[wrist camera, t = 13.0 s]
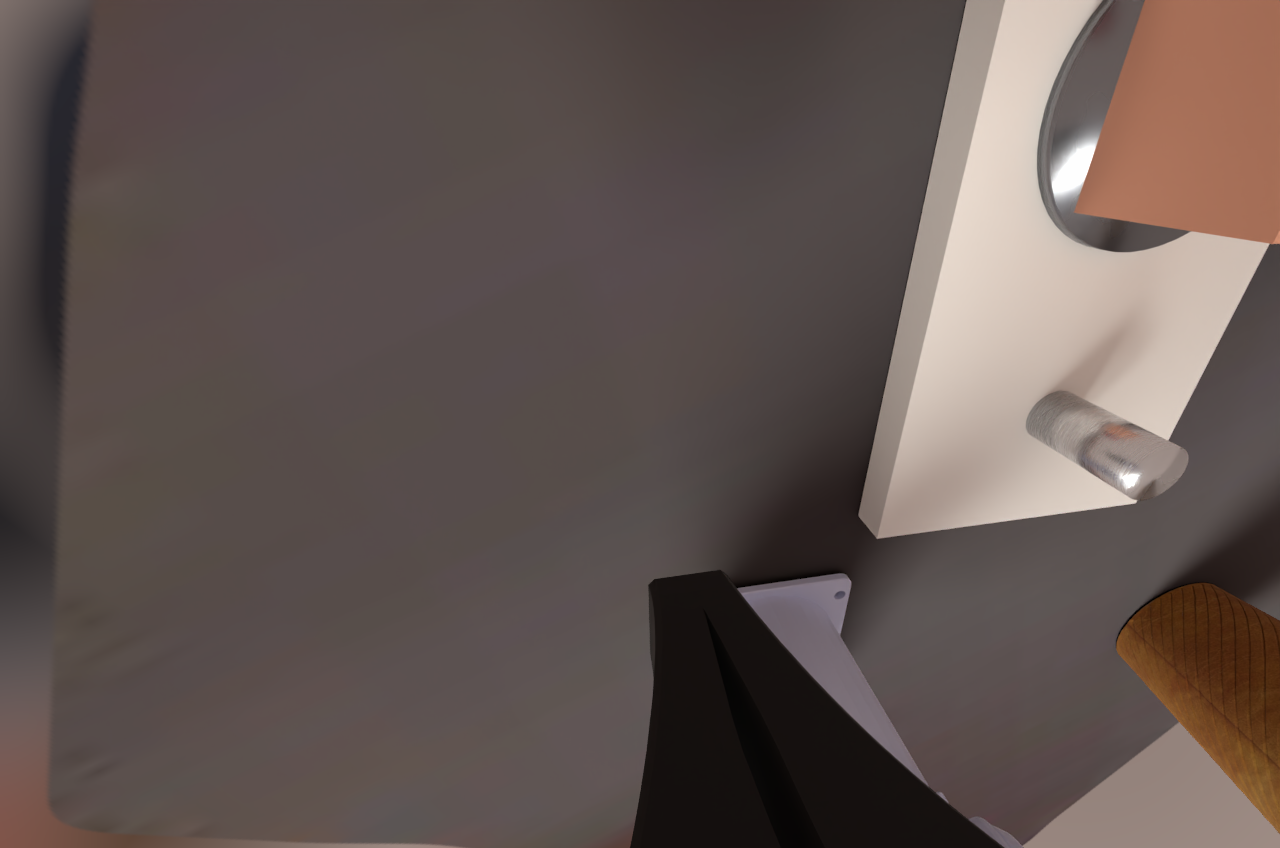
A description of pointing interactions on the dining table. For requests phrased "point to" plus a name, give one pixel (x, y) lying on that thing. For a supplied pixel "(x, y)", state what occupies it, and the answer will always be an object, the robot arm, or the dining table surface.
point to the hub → (1089, 131)
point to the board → (1027, 305)
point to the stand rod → (1107, 445)
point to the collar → (1194, 122)
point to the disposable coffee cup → (1216, 680)
